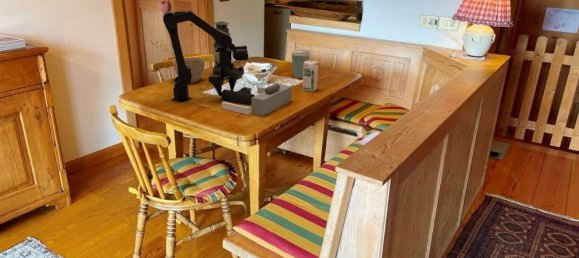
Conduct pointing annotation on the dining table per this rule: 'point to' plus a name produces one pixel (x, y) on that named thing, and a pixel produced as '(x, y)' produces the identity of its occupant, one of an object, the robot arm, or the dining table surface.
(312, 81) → the syrup box
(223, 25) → the lantern
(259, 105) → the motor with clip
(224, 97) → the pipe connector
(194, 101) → the dining table surface
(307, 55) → the disposable coffee cup
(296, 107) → the dining table surface
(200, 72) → the planter bowl
